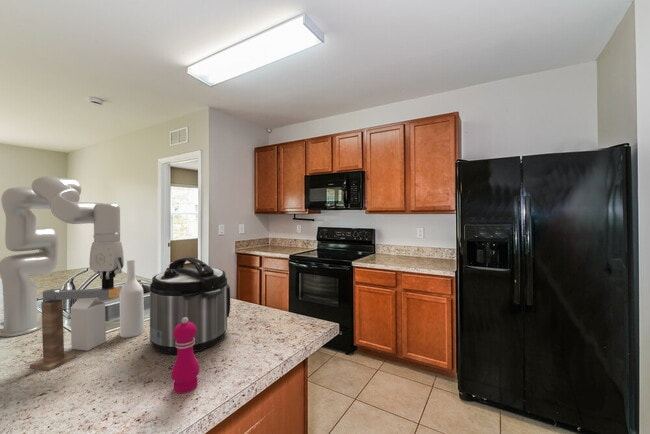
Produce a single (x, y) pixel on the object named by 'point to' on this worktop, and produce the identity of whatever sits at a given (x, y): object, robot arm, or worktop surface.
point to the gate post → (52, 337)
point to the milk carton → (87, 323)
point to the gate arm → (79, 294)
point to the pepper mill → (185, 358)
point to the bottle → (131, 304)
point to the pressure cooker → (188, 304)
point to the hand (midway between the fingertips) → (107, 289)
